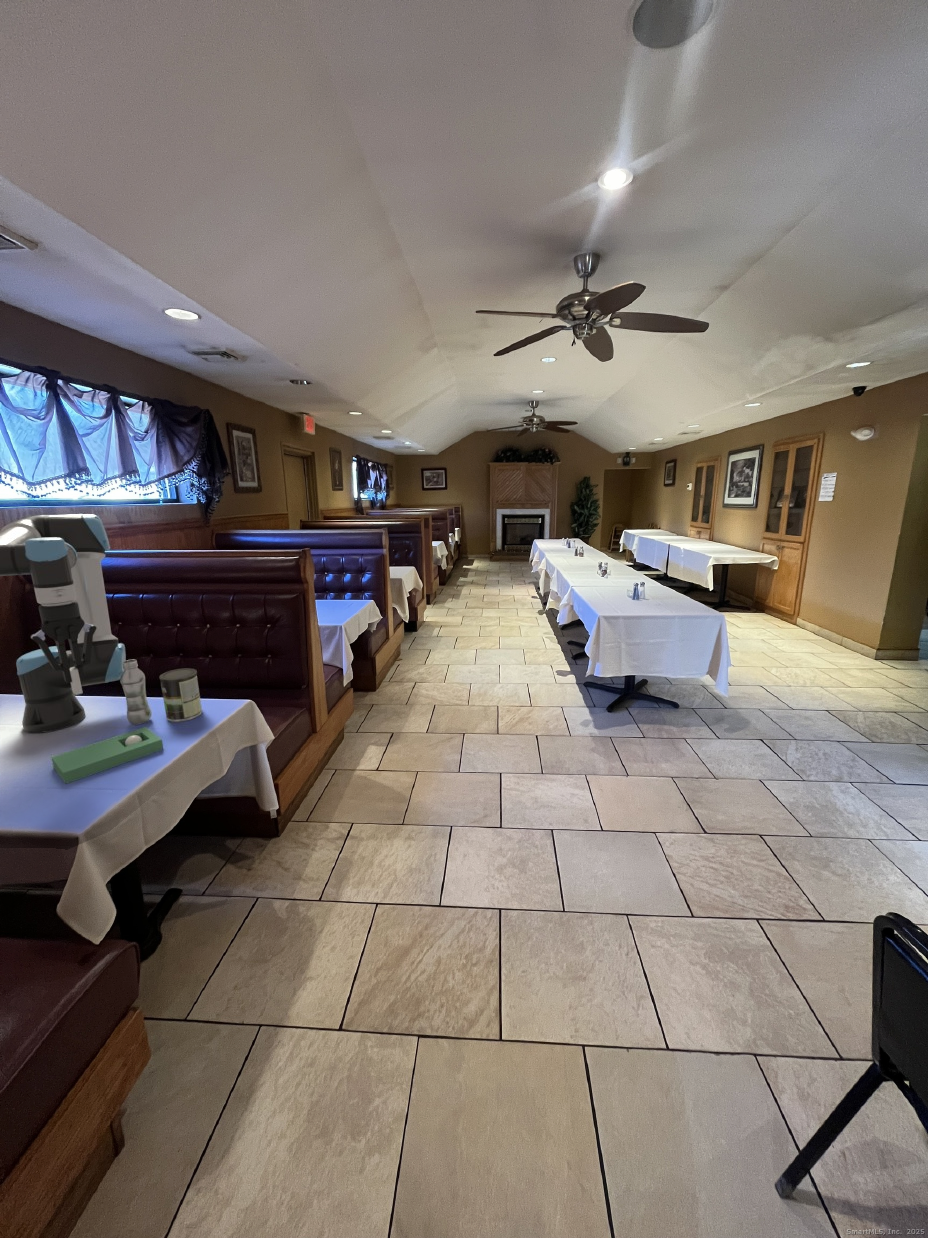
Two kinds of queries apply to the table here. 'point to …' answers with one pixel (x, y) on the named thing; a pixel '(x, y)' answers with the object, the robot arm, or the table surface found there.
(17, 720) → the table surface
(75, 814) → the table surface
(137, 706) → the plastic bottle
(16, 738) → the table surface
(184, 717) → the coffee can
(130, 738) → the ball
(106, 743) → the green
